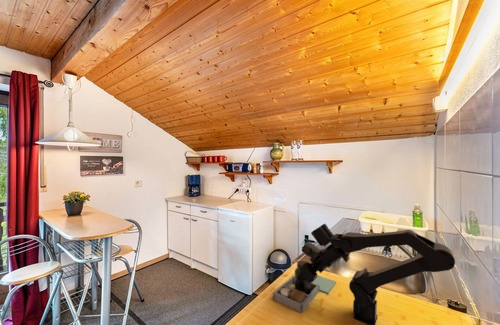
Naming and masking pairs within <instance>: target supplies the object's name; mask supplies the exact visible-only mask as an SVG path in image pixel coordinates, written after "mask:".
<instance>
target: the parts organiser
mask: <svg viewBox="0 0 500 325" xmlns="http://www.w3.org/2000/svg"><path fill="white" fill-rule="evenodd" d="M293 284H295V275H292V276H291V277H290V278H288V280H286V281H285V282H284V283H282V284H281V286H279V287H278V288H276V290H274V291H273V292H272V300H273V301H275V302H277V303H279V304H281V305H284V306H286V307H289V308H291V309H293V310H296V311H297V312H299V313H304V311H305V310H306V309H307V307H308V306H309V305H310V304H311V303H312V301H313V300H314V299H315V297H317V295H318V294H319V292H320V291H319V285H317V284H314V283H312V292H311V293H310V294H309V295H308V294H305V300H304V301H303V302H302V303H298V302H296V301H294V300H292V299H289V298H287V297H285V296H282V295H281V289H282V288H288V289H290V290H291V293H292V292H293V291H294V290H295V288H293V287H291V286H292V285H293Z"/></svg>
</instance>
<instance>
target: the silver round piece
mask: <svg viewBox="0 0 500 325" xmlns="http://www.w3.org/2000/svg"><path fill="white" fill-rule="evenodd" d="M281 295H282V296H285V297H287V298H289V299H290V297H291V290H290V289H288V288H282V289H281Z"/></svg>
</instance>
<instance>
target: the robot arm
mask: <svg viewBox="0 0 500 325" xmlns="http://www.w3.org/2000/svg"><path fill="white" fill-rule="evenodd" d="M310 235H312V237H313V238H314V240H315V241H316V242H317V243H318V245H319V246H321V247H325V248H324V249H320V248H318V247H317V246H316V245H315V244H314V243H312V242H311V241H306V242H305V243H304V244H303V246H302V247H301V252H302V253H303V254H305V255H306V256H307V257H309V260H310V262H308V261H307V262H305V263H304V264H303V265H301V266H300V267H299V269H300V271H301V273H300V274H299V275H298V276H297V280H307V281H308V282H309V283H311V282H313V281H314V280H315V279H316V278H317V275H318V272H319V273H321V274H322V272H324V271H325V270H326V269H327V268H331V266H333V264H335V263H336V262H338V261H339V260H341V259H343V260H344V262H345V263H348V262H349V260H350V256H351V253H354V252H359V251H362V250H364V249H368V248H376V247H377V248H379V247H381V248H382V247H395V246H408V247H410V248H412V249H413V250H414V252H416V253H417V254H416V255H415V256H413V257H411V258H407V259H405V260H402V261H400V262H397V263H394V264H391V265H389V266H386V267H384V268H381V269H378V270H375V271H368V269H367V267H365V268H363V269H362V270H356V271H355V273H354V274H353V276H352V277H351V280H350V281H349V284H348V286H349V291H350V292H351V294H353V298H354V300H353V301H352V302H353V304H352V305H353V306H352V309H353V310H352V312H353V319H355V320H358V321H360V322H363V323H364V324H366V325H376V323H377V320H378V312H377V310H378V308H377V306H378V300H377V299H376V297H377V295H378V290H377V289H379V287H382V286H386V285H388V284H391V283H394V282H397V281H400V280H403V279H407V278H409V277H412V276H415V275H418V274H420V273H425V272H426V273H440V272H446V271H450V270H452V269H454V268H455V265H456V261H455V257H454V255H453V252H452V250H451V249H450V248H449V247H448V246H447V245H445V244H442V243H439V242H438V243H436V242H435V241H432V240H430V239H429V238H427V237H425V236H422V235H420V234H419V233H417V232H415V231H413V230H411V229H405V230H397V231H388V232H386V231H385V232H376V233H368V234H367V233H361V232H346V233H335V234H334V233H333V232H332V231H331V230H330V228H329V227H328V225H327V224H326V223H323V224H321V225H320V226H319V227H317V228H315V229H314V230H313V231H311V232H310ZM328 244H329V245H328Z"/></svg>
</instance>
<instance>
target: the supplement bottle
mask: <svg viewBox="0 0 500 325" xmlns="http://www.w3.org/2000/svg"><path fill="white" fill-rule="evenodd" d="M305 262H308V261H306V260H298V261H297V263H296V268H295V270H294V276H295V283H294V288H293V289H297V290H299V291H302V292H304V293H305V294H308V295H309V294H310V293H311V292H312V291H313V290H312V282H311V283H309V282H308V281H307V280H297V276H298V275H299V274H300V273H301V271H300V269H299V267H300V266H301V265H303V264H304V263H305Z"/></svg>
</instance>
